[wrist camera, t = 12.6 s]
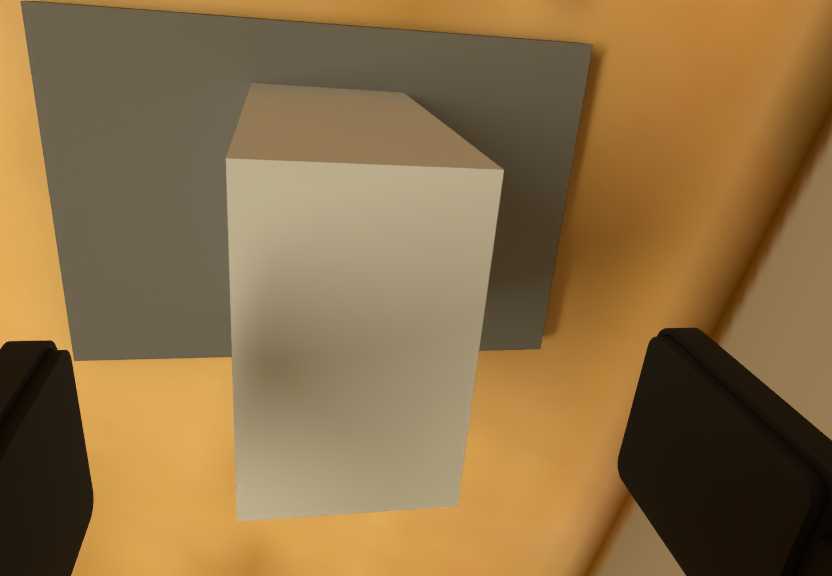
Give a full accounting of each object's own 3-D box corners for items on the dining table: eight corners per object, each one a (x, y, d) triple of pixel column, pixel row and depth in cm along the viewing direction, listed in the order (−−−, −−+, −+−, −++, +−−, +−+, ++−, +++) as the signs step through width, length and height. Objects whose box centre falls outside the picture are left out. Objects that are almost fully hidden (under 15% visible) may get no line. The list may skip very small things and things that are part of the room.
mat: (32, 0, 20) (20, 0, 19) (580, 43, 23) (592, 44, 23) (81, 347, 25) (74, 360, 24) (531, 337, 28) (540, 349, 27)
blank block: (251, 82, 21) (225, 158, 11) (403, 92, 22) (503, 170, 12) (254, 307, 24) (236, 521, 14) (388, 306, 25) (457, 506, 15)
